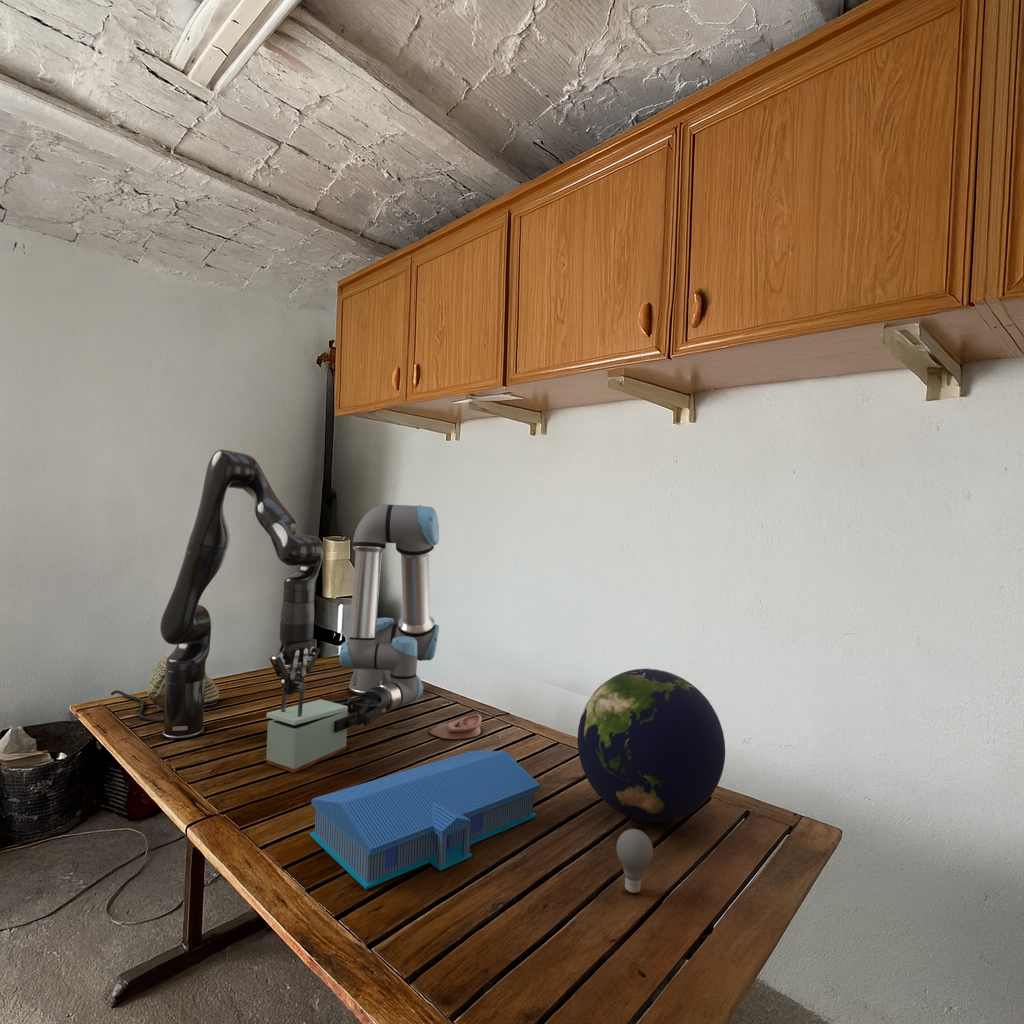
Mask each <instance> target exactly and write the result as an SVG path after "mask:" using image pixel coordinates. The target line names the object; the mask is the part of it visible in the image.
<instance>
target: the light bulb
mask: <svg viewBox="0 0 1024 1024" xmlns="http://www.w3.org/2000/svg"><path fill="white" fill-rule="evenodd" d="M615 849H616V854H617V857H618V859H619V861H620V863H621V865H622V867H623V873H624V874H623V875H624V876H625V878H624V888H625V890H627V891H628V892H630V893H634V894H635V893H639V892H640V891H641V889H642V887H641V886H642V879H643V877H644V875H645V871H646V868H647V867H648V866H649V864H650V863H651V861H652V859H653V855H654V847H653V843H652V841H651V838H649V836H648V835H647V834H646V833H645V832H643V831H642V830H641V829H636V828H629V829H627V830H625V831H623V832H622V833H621V834H620V835H619V837H618V839H617V841H616V847H615Z"/></svg>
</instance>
